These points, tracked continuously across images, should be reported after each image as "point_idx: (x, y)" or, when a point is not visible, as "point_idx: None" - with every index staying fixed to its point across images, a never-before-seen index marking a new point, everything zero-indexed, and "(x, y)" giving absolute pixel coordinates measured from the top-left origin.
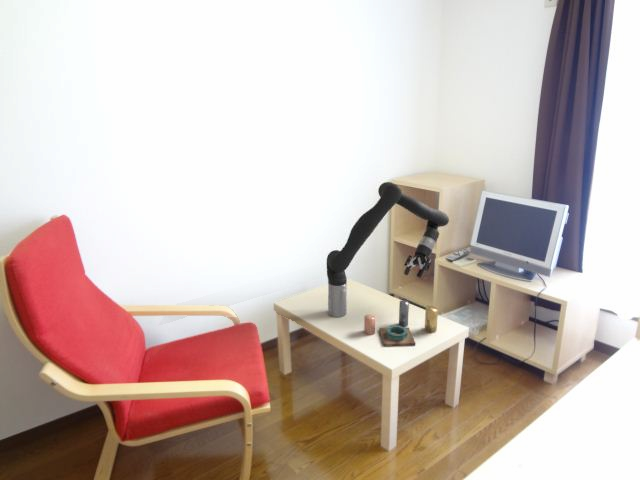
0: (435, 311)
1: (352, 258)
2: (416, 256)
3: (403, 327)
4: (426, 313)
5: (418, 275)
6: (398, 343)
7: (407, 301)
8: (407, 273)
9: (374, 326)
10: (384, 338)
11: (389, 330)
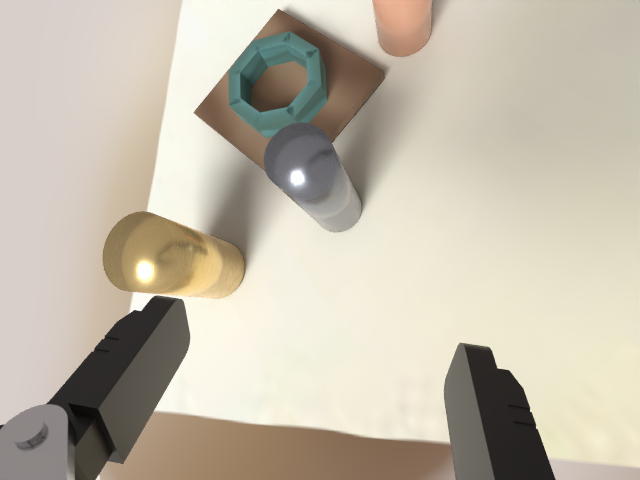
0: (107, 238)
1: None
2: None
3: (267, 121)
4: (170, 220)
5: (147, 311)
6: (239, 56)
7: (288, 184)
8: (453, 405)
9: (374, 13)
10: (304, 34)
11: (298, 50)
